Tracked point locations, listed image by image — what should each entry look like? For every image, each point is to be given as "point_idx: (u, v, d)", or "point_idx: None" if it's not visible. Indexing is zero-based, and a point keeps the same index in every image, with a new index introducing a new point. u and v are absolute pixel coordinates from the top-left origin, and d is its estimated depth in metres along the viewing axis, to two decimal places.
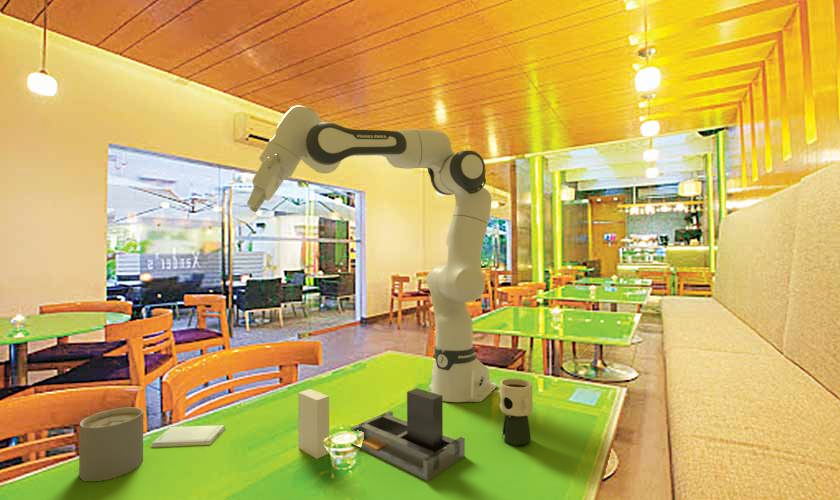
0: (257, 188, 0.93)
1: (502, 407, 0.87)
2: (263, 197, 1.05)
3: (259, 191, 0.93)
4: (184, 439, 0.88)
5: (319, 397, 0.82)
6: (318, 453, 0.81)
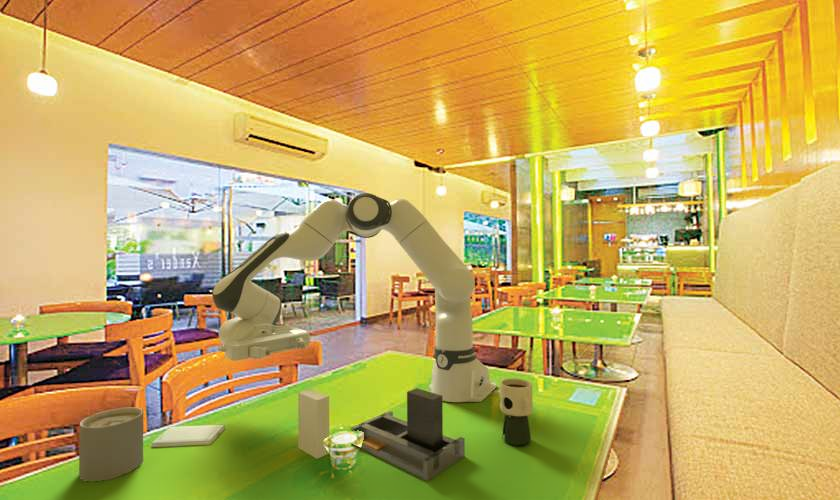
0: (249, 352, 0.90)
1: (502, 407, 0.87)
2: (295, 340, 0.98)
3: (250, 350, 0.89)
4: (184, 438, 0.88)
5: (319, 397, 0.82)
6: (318, 453, 0.81)
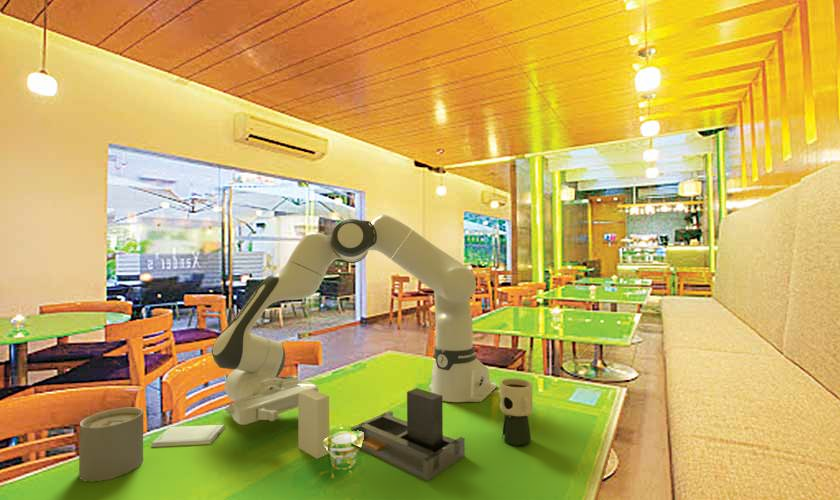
0: (257, 415, 0.87)
1: (502, 407, 0.87)
2: None
3: (258, 413, 0.87)
4: (184, 438, 0.88)
5: (319, 397, 0.82)
6: (318, 453, 0.81)
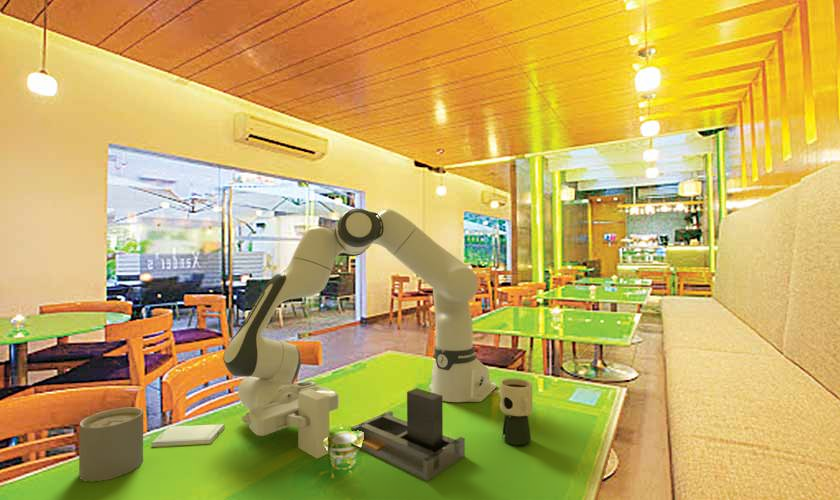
0: (287, 421, 0.83)
1: (502, 407, 0.87)
2: None
3: (289, 419, 0.83)
4: (184, 438, 0.88)
5: (319, 397, 0.82)
6: (318, 453, 0.81)
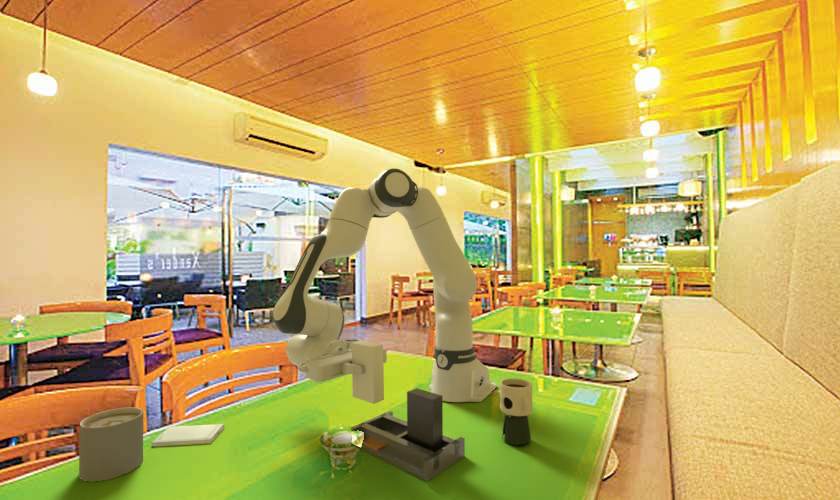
0: (343, 370, 0.86)
1: (502, 407, 0.87)
2: None
3: (344, 367, 0.86)
4: (184, 438, 0.88)
5: (374, 345, 0.85)
6: (374, 398, 0.84)
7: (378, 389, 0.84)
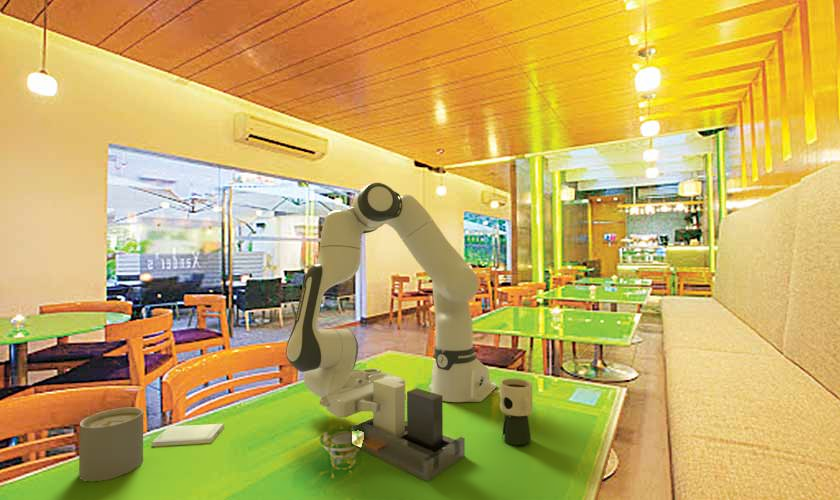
0: (358, 407, 0.86)
1: (502, 407, 0.87)
2: None
3: (360, 404, 0.85)
4: (184, 437, 0.88)
5: (396, 386, 0.86)
6: None
7: (399, 429, 0.85)
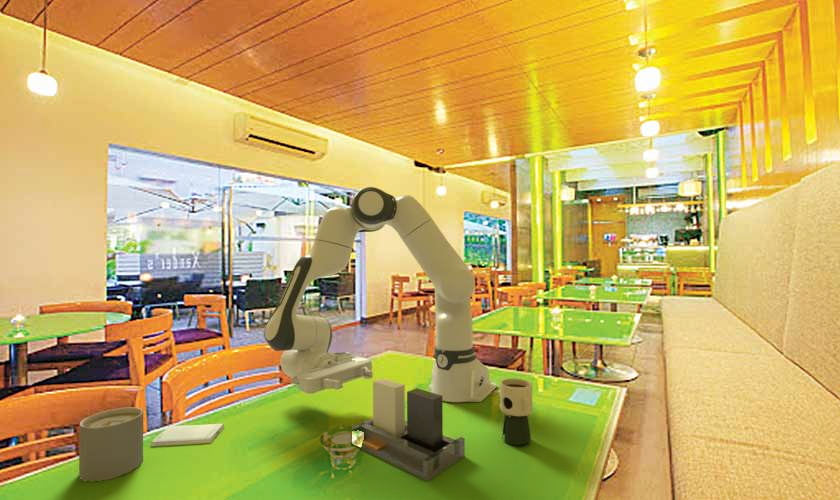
0: (322, 385, 0.93)
1: (502, 407, 0.87)
2: (360, 369, 1.02)
3: (323, 382, 0.93)
4: (183, 437, 0.88)
5: (396, 386, 0.86)
6: None
7: (399, 429, 0.85)
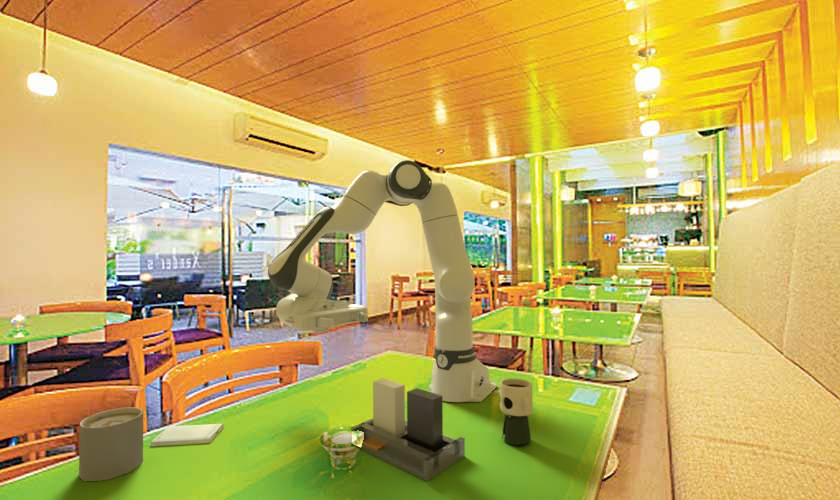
0: (317, 323, 0.93)
1: (502, 407, 0.87)
2: (355, 314, 1.02)
3: (318, 321, 0.93)
4: (183, 437, 0.88)
5: (396, 386, 0.86)
6: None
7: (399, 429, 0.85)
